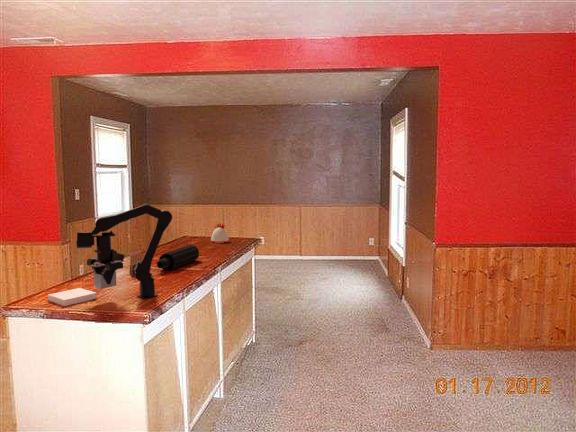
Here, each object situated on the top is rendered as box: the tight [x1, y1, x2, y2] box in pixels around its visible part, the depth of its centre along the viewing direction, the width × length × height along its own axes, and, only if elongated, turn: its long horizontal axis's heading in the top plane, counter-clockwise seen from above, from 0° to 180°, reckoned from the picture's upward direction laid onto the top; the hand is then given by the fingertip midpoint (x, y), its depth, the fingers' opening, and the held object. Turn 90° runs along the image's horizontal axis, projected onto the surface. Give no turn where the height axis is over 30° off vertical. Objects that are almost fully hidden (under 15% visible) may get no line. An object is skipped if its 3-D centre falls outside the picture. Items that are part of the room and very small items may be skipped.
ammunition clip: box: [129, 249, 143, 276], centre depth 243 cm, size 11×2×12 cm, turn 169°
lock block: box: [93, 271, 117, 290], centre depth 190 cm, size 5×7×6 cm
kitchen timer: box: [210, 222, 230, 242], centre depth 350 cm, size 14×14×15 cm
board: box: [47, 287, 98, 307], centre depth 192 cm, size 14×14×2 cm
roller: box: [156, 244, 200, 272], centre depth 260 cm, size 38×10×10 cm, turn 165°
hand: (105, 283), depth 190 cm, fingers closed on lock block, 5 cm apart
